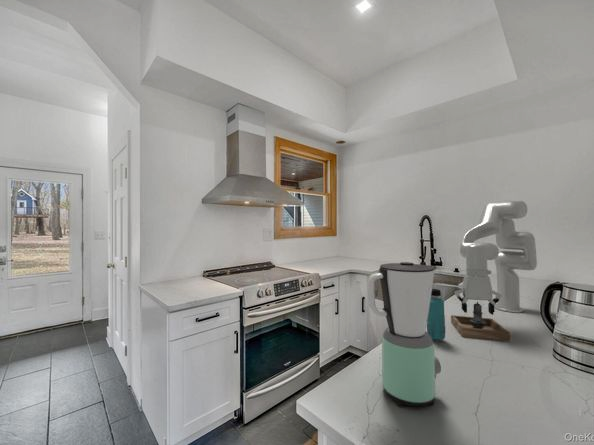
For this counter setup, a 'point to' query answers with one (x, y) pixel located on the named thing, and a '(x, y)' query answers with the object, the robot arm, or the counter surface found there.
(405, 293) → the mint green blender
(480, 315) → the dark grey rounded piece
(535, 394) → the counter surface
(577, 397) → the counter surface
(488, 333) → the tray
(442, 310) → the beverage bottle
